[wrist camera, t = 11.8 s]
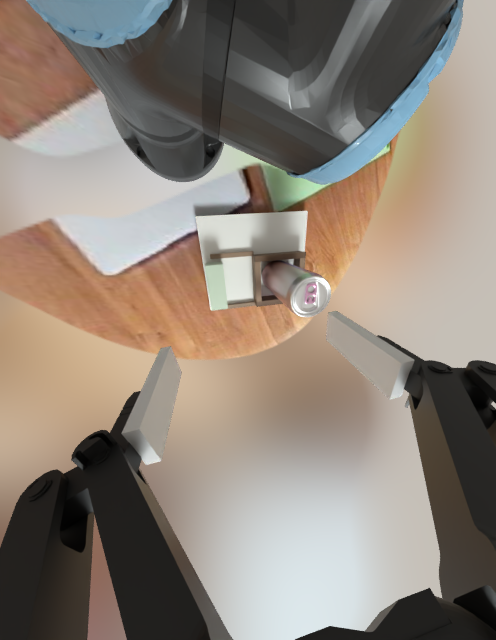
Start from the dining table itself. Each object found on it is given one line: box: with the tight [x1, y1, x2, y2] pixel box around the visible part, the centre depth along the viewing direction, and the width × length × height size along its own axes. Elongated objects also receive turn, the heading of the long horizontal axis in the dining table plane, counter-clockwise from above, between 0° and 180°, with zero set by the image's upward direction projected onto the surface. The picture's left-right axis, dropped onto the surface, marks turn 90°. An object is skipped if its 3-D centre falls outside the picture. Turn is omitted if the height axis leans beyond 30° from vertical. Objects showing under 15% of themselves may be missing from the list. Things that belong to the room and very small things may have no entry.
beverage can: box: [262, 260, 331, 317], centre depth 30 cm, size 6×6×15 cm
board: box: [195, 211, 308, 310], centre depth 35 cm, size 17×20×2 cm
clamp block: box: [205, 261, 228, 310], centre depth 33 cm, size 8×3×4 cm, turn 4°
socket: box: [252, 251, 306, 307], centre depth 35 cm, size 10×10×3 cm
